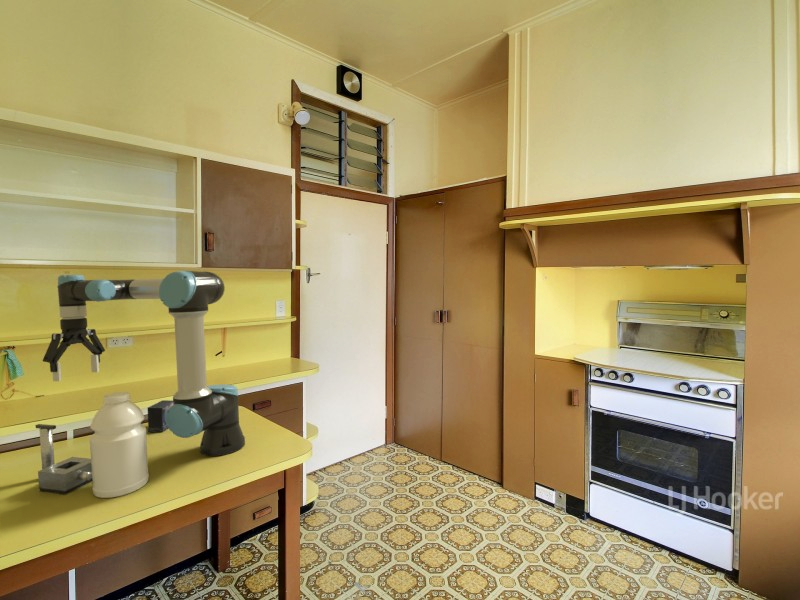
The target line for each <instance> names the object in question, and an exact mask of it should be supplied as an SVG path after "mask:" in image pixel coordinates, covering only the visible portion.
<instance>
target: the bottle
mask: <svg viewBox="0 0 800 600" xmlns="http://www.w3.org/2000/svg"><path fill="white" fill-rule="evenodd" d="M131 399H132V398H131V393H130V392H127V391H126V392H125V391H123V392H121V391H120V392H115V393H109V394H106V395H105V396H103V398H102V403H103V405H102V406H101V407H100V408H99V409H98V410H97V412H96V413H95V415H94V417H93V418H92V421H91V424H90V425H89V426H90V427H89V429H90V430H92V431H93V432H94V433H93V434H92V435H91V436H90V438H89V447H90V459H91V465H92V480H93V481H92V493H93V495H94V497H96V498H99V499H107V498H108V499H109V498H112V499H113V498H116V497H122V496H125V495H128V494H131V493H133V492H135V491H137V490H139V489H141V488H143V487H144V486H145V485H146V484H147V483H148V481H149V476H150V474H149V465H148V446H147V427H146V426H144V424H142V422H143V421H144V420H145V414H144V413H143V411H142V410H141V408H140V406H138V405H137V404H136V403H134V402H133V401H131Z"/></svg>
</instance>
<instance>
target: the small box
mask: <svg viewBox="0 0 800 600" xmlns="http://www.w3.org/2000/svg"><path fill="white" fill-rule="evenodd" d="M171 406H173V400H167V399H166V400H160V401H159V402H157V403H154V404H152V405H150V406H148V407H147V430H148V431H147V432H148V433H163V432H165V431H167V430H168V429H169V428H168V426H167V424H166V420H165V415H166V412H167V411H168V409H169V408H170V407H171ZM166 429H167V430H166Z"/></svg>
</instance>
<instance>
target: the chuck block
mask: <svg viewBox="0 0 800 600" xmlns="http://www.w3.org/2000/svg"><path fill="white" fill-rule="evenodd" d="M37 476H38V479H37V480H38V491H39V492H42V493H43V492H44V493H51V494H58V495H68V494H69V493H72V492H74V491H76V490H77V489H80V488H81V487H84V486H85V485H88V484H89V483H91V482H93V480H92V465H91V458H87V457H81V456H80V457H79V456H71V457H68V458H66V459H64V460H61V461H60V462H59V461H58V462H57V463H55V464H54V465H52V466H49V467H47V468H45V469H42V468H41V469H40V470H38V471H37Z"/></svg>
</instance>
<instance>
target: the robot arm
mask: <svg viewBox="0 0 800 600" xmlns="http://www.w3.org/2000/svg"><path fill="white" fill-rule="evenodd" d="M56 287H57V292H58V293H57V296H58V304H59V305H58V306H59V307H58V308H59V318H60V320H59V325H60V330H61V333H57V332H56V333H55V332H54V333H52V334H51V340H50V342H49V344H48V347H47V350H46V351H45V353H44V356H43V359H42V362H45V363H49V371H50V373H52V381H53V382H62V368H61V362H60V361H59V360H60V359H61V357H62V356H63V355H64V353H65V352H66V351H67V349H68V348H69V347H70V346H71V345H76V344H82V345H83V346H84V347H85V349H87V350H88V351H89V352H91V355H90V367H91V368H90V371H91V373H100V362H101V355H102V354H103V353H104V352H105V351H106V349H105V347H104V345H103V343H102V342H101V340H100V338H99V337H98V336H97V332H96V329H95V328H88V318H87V316H88V312H87V311H88V310H87V302H99V303H100V302H106V301H118V300H119V301H120V300H160V301H161V302H162V304H163V305H164V306H165V307H167V308H168V314H169V315H170V316H171V317H172V318H173V319H174V320H173V321H174V336H175V339H174V341H175V357H176V360H175V361H176V379H177V391H176V392H174V394H173V395H172V401H173V406H171V407H170V408H169V409H168V411H167V412H166V415H165V420H166V424H167V426H168V429H169V431H170V432H172V433H173V434H174V435H175V436H177V437H178V438H182V439H183V438H184V439H187V438H191V437H194V436H196V435H199V434H201V433H202V432H203V433H202V438H201V441H200V445H199V447H200V448H199V451H200V454H202V455H204V456H210V457H215V456H224V455H229V454H232V453H234V452H237V451H240V450H242V449H243V447H245V445H246V440H245V439H246V438H245V435H244V433H243V431H242V428H241V425H240V417H239V415H240V412H239V407H240V406H239V391H238V387H237V386H236V385H234V384H213V385H212V384H211V385H207V384H208V383H207V381H208V380H207V366H206V361H207V360H206V343H205V342H206V340H205V339H206V338H205V323H204V322H205V321H204V320H205V318H204V316H205V315H206V314H207V313H208V312H209V305H212V304H215V303H217V302H219V301H220V300H221V299H222V297H223V296H224V293H225V287H226V286H225V283H224V281H223V279H222V278H221V276H219V275H218V274H216V273H214V272H213V271H212V272H211V271H199V270H198V271H197V270H196V271H195V270H181V271H180V270H179V271H172V272H169V273H168V274H167V275H165V277H164V278H146V279H143V278H142V279H141V278H139V279H132V278H131V279H88V280H87V279H85V276H84V275H82V274H61V275H59V276H58V277H57V286H56ZM87 328H88V329H87ZM87 336H88V337H87Z"/></svg>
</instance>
